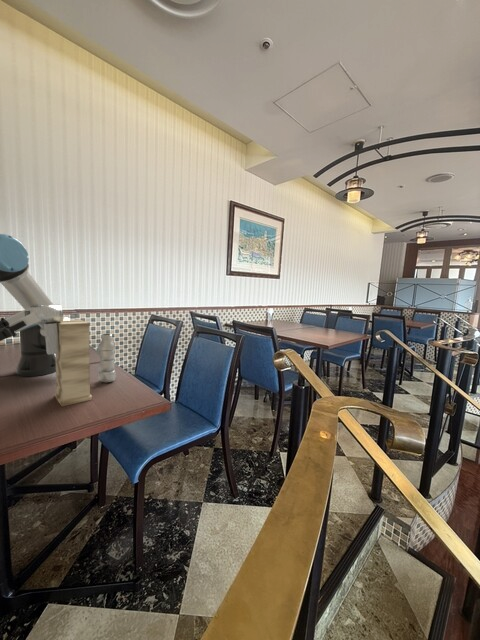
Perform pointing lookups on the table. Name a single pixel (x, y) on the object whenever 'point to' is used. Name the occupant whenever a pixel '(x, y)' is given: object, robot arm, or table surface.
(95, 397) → the table surface
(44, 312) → the grey round-headed handle
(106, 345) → the plastic bottle
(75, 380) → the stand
